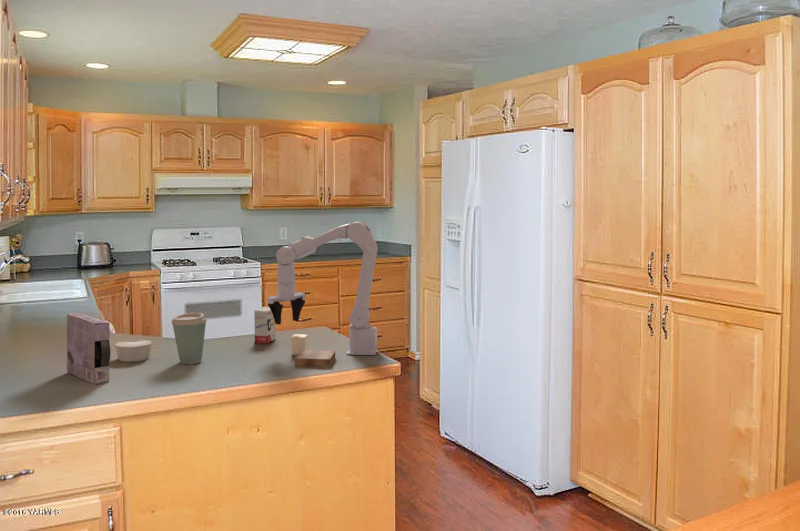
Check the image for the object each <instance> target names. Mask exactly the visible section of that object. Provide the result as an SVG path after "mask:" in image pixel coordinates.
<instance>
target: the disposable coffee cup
mask: <svg viewBox="0 0 800 531" xmlns="http://www.w3.org/2000/svg"><path fill="white" fill-rule="evenodd" d="M205 316H206V315H205V314H204V313H202V312H186V313H181V314H178V315H175V316H174V317H172V319H171V325H172V329H173V334H174V339H175V344H176V348H177V354H178V359H179V361H180V363H181V364H182V365H183V364H184V365H191V364H192V365H193V364H197V363H200V362H201V361H202V360H203V352H204V343H205V333H206V323H207V318H206V317H205Z"/></svg>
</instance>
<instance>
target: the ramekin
mask: <svg viewBox="0 0 800 531" xmlns="http://www.w3.org/2000/svg"><path fill="white" fill-rule="evenodd" d="M152 345H153V342H152V341H151V340H148V339H129V340H128V339H127V340H122V341H118V342H116V343H114V348H115V352H116V357H117V359H118V360H119V362H123V363H138V362H143V361H147V360H148V359H149V358H150V357H151V352H152V351H151V350H152Z"/></svg>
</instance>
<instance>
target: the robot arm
mask: <svg viewBox="0 0 800 531" xmlns="http://www.w3.org/2000/svg"><path fill="white" fill-rule="evenodd" d="M337 239H343V240H347V239H349V240H350V241H352V242H353V243H355V244H357V246H358V247H359V248H360V249H361V251H362V252H363V253H362V259H361V266H360V270H359V278H358V285H357V289H356V290H357V291H356V297H355V301H354V305H353V306H354V307H353V309H352V311H351V313H350V315H349V322H350V324H348V325H349V329H348V330H349V332H348V334H349V336H348V337H349V338H348V340H349V343H348V345H349V346H348V347H349V348H348V350H347V351H346V355H351V356H352V355H353V356H354V355H355V356H376V353H377V351H378V328H377V327H376V326H372V325H371V323H370V322H369V321H370V320H369V319H370V318H371V310H370V309H369V308H370V298H371V292H372V285H373V280H374V274H375V273H374V272H375V266H376V262H377V256H378V248H379V247H378V244H377V242H376V240H375V238H374V235H373V234H372V231H371V228H369V226H367V225H366V224H365V223H364V222H363V221H359V220H357V221H354V222H352V223H347V224H342V225H340V226H339V225H338V226H337V227H334V228H333V229H330V230H328V231H326V232H324V233H322V234H319V235H318V236H315V237H311V236H307V235H306V236H305V235H304V236H300V239H299V240H297V241H294V242H289V243H287V246H282V247H280V248H279V249H278V250H277V251H276V253H275V259H276V261H277V294H276V295H274V296H268V297H267V299H266V300H267V307H269V308H270V309H271V311H272V314H273V317H274V320H275V325H281V324H282V312H283V307H284V304H282V303H285V302H290V306H291V310H292V311H291V312H292V313H291V314H292V315H291V316H292V321H293V322H299V319H300V315H301V312H302V309H303V307H304V306H305V304H306V300H305V299H306V292H305V293H304V292H297V293H296V269H295V260H300V259H302V258H304V257H307V256H309V255H311V254H314V253H315V252H316V251H317V248H318V247H320V246H322V245H325V244H327V243H329V242H332V241H335V240H337ZM372 350H373V351H372Z"/></svg>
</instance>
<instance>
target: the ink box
mask: <svg viewBox="0 0 800 531" xmlns="http://www.w3.org/2000/svg"><path fill="white" fill-rule="evenodd" d="M274 340H276V324H275V320H274V317H273V314H272V311H271V309H270V308H269V306H263V307H260V308H257V309H255V310H254V344H265V345H266V344H269V343H270V342H272V341H274Z"/></svg>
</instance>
